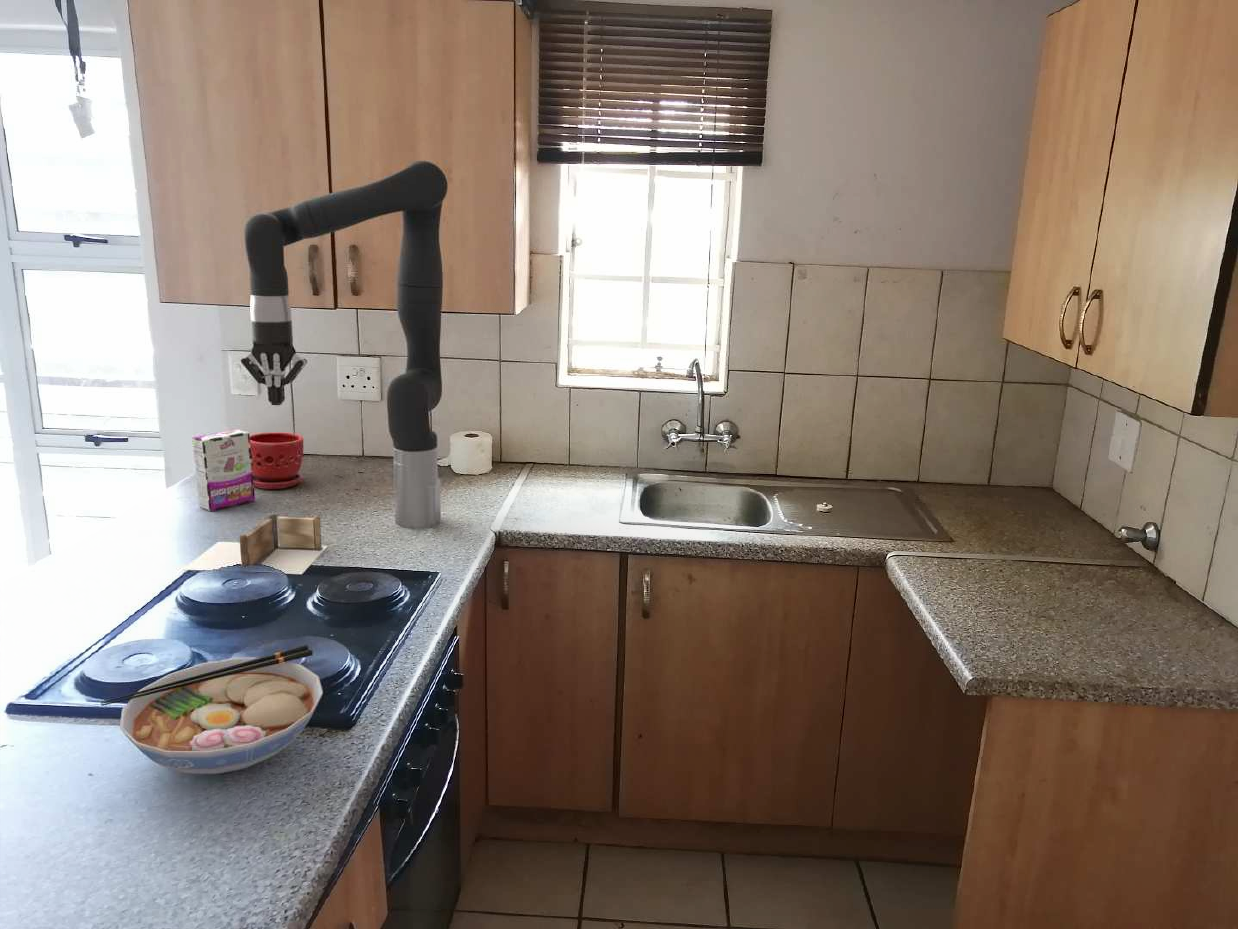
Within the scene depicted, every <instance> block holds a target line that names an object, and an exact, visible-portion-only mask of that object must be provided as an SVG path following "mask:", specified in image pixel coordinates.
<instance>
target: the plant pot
mask: <svg viewBox="0 0 1238 929" xmlns="http://www.w3.org/2000/svg"><path fill="white" fill-rule="evenodd" d="M249 437H250V448H251V459H252V470H253V482H254V487H256V488H260V490H261V489H263V490H264V489H265V490H281V489H286V488H289V487H292V486H295V485H296V484H298V483H299V482H300V480H301V475H300V474H299V471H300V470H301V467H302V463H303V458H304V438H303V436H301V435H299V434H295V433H290V432H261V433H255V434H250V435H249Z"/></svg>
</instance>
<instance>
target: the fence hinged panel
mask: <svg viewBox="0 0 1238 929" xmlns="http://www.w3.org/2000/svg"><path fill="white" fill-rule="evenodd" d="M238 538H239V543H240V552H241V565H242V567H246V566H249V565H253V564H254V563H256V562H257V561H258V560H260V559H261V558H262V557H263V556H265V555H266V554H267V553H269V552H270V551H271V550H272V549H274V541H273V526H272V519H268V518H266V519H265V520H264V521H262V522H261V523H259V524H258V525H256V526H255V527H253V528H252V529H251V530H249V531H248V532H246V533H245V534H241V535H238Z"/></svg>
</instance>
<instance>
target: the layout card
mask: <svg viewBox="0 0 1238 929" xmlns="http://www.w3.org/2000/svg"><path fill="white" fill-rule="evenodd" d="M278 546H279V543H278ZM328 546H329V545H322V549H320V550H316V549H313V548H287V547H278V548H274V549H272V550H271V551H270V552H269V553H267V554H266V555H265V556H263V557H262V558H261V559H260V560H258V561H257V562H256V563H254V564H262V565H266V566H270V567H273V568H275V569H278V570H281V571H282V572H284V573H285V574H286V575H303V574H304V573H305V571H306V570H307V569H308V568H309V567H310V566H311V565H312V564H313V563H314V562H315V561H316V560H317V559H318V557H319V556H320V555H321V554H322V553H323V552H324V551H325V550H326V549H327V548H328ZM236 564H241V552H240V542H239V541H238V542H237V541H234V542H233V541H232V542H231V541H217V542H216V543H215V544H213V545H212V546H210V548H208V549H207V550H206V551H204V552H203V553H202V554H200V555H199V556H198V557H197V558H195V559H194V560H193V561H191V563H189V564H188V565H186V566H185V567H183V569H182V571H203V570H213V569H219V568H221V567H227V566H233V565H236ZM285 574H284V575H285Z"/></svg>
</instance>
